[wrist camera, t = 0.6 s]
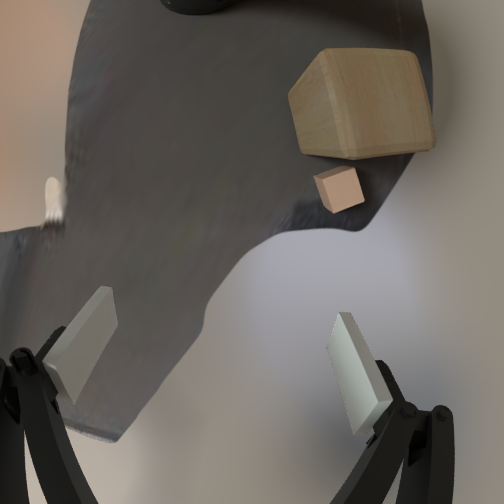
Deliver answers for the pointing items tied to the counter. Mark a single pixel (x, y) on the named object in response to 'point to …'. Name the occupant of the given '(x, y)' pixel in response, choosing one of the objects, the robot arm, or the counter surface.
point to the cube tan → (339, 188)
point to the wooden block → (362, 104)
